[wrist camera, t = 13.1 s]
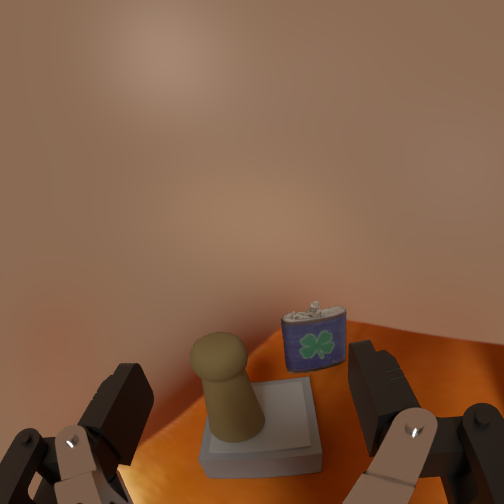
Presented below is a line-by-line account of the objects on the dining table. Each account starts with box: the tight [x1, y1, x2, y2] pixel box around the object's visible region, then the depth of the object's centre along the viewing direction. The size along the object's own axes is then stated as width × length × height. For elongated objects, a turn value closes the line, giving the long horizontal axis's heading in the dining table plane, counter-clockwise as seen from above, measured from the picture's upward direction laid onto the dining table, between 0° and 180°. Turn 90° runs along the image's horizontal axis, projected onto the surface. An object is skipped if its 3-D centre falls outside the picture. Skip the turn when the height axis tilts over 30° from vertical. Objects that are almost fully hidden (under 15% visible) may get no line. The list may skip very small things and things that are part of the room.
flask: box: [281, 301, 346, 373], centre depth 41 cm, size 9×3×11 cm, turn 92°
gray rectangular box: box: [198, 377, 322, 479], centre depth 30 cm, size 12×12×4 cm
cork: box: [190, 332, 265, 443], centre depth 27 cm, size 6×6×11 cm
